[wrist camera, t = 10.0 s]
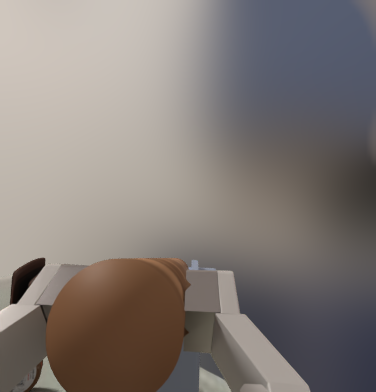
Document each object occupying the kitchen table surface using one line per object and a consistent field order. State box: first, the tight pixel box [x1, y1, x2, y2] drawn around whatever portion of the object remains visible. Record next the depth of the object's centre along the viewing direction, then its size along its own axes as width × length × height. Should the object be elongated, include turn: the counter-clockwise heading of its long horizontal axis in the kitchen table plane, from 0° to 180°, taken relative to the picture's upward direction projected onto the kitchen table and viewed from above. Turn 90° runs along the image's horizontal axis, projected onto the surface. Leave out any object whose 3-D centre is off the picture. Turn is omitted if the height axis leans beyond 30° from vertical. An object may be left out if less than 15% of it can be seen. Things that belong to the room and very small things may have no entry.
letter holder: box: [10, 258, 45, 305], centre depth 85 cm, size 10×20×14 cm, turn 5°
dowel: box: [45, 258, 189, 392], centre depth 16 cm, size 22×3×3 cm, turn 179°
